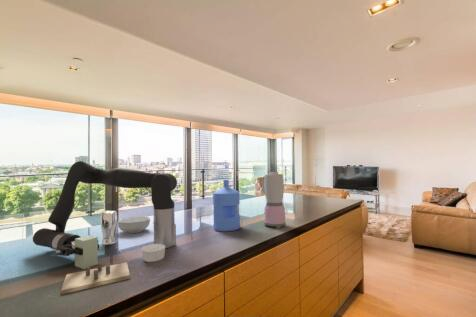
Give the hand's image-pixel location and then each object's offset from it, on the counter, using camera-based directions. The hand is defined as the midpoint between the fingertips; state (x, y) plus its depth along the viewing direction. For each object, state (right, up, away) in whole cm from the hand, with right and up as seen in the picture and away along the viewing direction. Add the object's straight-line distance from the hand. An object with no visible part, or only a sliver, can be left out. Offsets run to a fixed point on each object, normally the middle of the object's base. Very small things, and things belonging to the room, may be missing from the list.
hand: (90, 249), depth 87 cm
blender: (+76, -7, +54) cm, 93 cm away
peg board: (+9, -5, -10) cm, 14 cm away
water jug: (+48, -7, +50) cm, 70 cm away
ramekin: (+21, -6, +7) cm, 23 cm away
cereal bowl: (-4, -8, +47) cm, 48 cm away
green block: (-2, -6, +1) cm, 7 cm away
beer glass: (-8, -7, +27) cm, 29 cm away
